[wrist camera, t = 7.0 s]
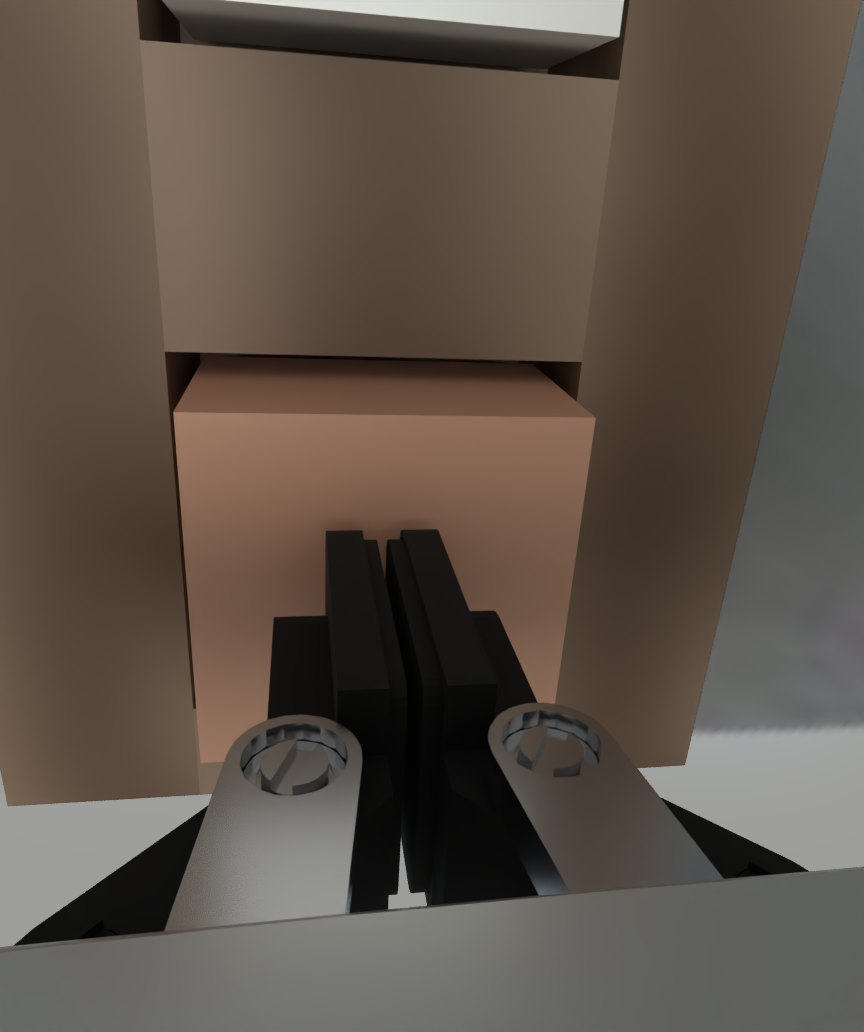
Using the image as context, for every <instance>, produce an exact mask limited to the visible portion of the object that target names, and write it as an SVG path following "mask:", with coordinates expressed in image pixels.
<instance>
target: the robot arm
mask: <svg viewBox="0 0 864 1032" xmlns="http://www.w3.org/2000/svg"><path fill="white" fill-rule="evenodd" d="M401 839H402V846H403V853H404V858H405V865H406V872H407V879H408V885H409V890H410V892H411V893H418V892H425V895H426V901H427V906H420V907H409V908H400V909H388V895H396V894H397V893H398V881H399V862H400V842H401ZM0 1032H864V867H856V868H844V869H833V870H821V871H808V870H806V869H804V868H803V867H801V866H800V865H798V864H796V863H795V862H793V861H791V860H789V859H787V858H785V857H783V856H781V855H779V854H777V853H775V852H773V851H770V850H768V849H766V848H764V847H762V846H760V845H758V844H756V843H754V842H752V841H750V840H748V839H746V838H743V837H741V836H739V835H737V834H735V833H733V832H731V831H729V830H727V829H725V828H723V827H721V826H719V825H717V824H714V823H712V822H710V821H708V820H706V819H704V818H702V817H700V816H697V815H696V814H694V813H691V812H690V811H687V810H685V809H683V808H681V807H679V806H677V805H675V804H673V803H671V802H669V801H667V800H664V799H663V798H660V797H659V796H658V794H657V793H656V792H655V791H654V789H653V788H652V787H651V785H649V783H648V782H647V780H646V779H645V778H644V777H643V775H642V774H641V773H640V771H639V770H638V769H637V767H636V766H635V765H634V764H633V762H632V761H631V760H630V759H629V757H628V756H627V755H626V753H625V752H624V751H623V750H622V748H621V747H620V746H619V745H618V743H617V742H616V741H615V739H614V738H613V737H612V736H611V734H610V733H609V732H608V731H607V730H606V729H605V728H604V727H603V726H602V725H601V724H600V723H599V722H598V721H596V720H595V719H593V718H591V717H590V716H588V715H586V714H584V713H583V712H581V711H578V710H575V709H572V708H569V707H566V706H564V705H557V704H551V703H538V702H537V700H536V698H535V695H534V693H533V691H532V689H531V687H530V684H529V682H528V680H527V678H526V675H525V673H524V671H523V669H522V667H521V664H520V662H519V660H518V658H517V655H516V653H515V651H514V649H513V646H512V644H511V642H510V640H509V638H508V635H507V633H506V631H505V629H504V626H503V624H502V622H501V620H500V618H499V616H498V614H497V613H496V611H493V610H488V611H469V608H468V605H467V603H466V600H465V598H464V595H463V592H462V590H461V587H460V585H459V582H458V580H457V577H456V574H455V572H454V569H453V567H452V564H451V562H450V559H449V556H448V554H447V551H446V549H445V546H444V543H443V541H442V538H441V536H440V533H439V531H438V529H417V530H401V533H400V539H388V540H387V546H386V570H385V576H384V571H383V567H382V562H381V557H380V552H379V547H378V543H377V540H364V536H363V531H362V530H340V531H326V535H325V615H323V616H290V617H274V620H273V635H272V651H271V667H270V684H269V700H268V717H267V720H266V721H263V722H261V723H259V724H257V725H255V726H253V727H251V728H249V729H248V730H246V731H245V732H244V733H243V734H242V735H241V736H239V737H238V738H237V739H236V740H235V741H234V743H233V744H232V746H231V748H230V749H229V751H228V753H227V754H226V757H225V760H224V763H223V766H222V768H221V771H220V774H219V777H218V780H217V783H216V785H215V788H214V791H213V794H212V797H211V800H210V803H209V805H208V806H207V807H205V808H204V809H203V810H201V811H200V812H198V813H197V814H195V815H194V816H193V817H191V818H190V819H188V820H187V821H186V822H184V823H183V824H181V825H180V826H178V827H177V828H176V829H174V830H173V831H171V832H170V833H169V834H167V835H166V836H164V837H163V838H161V839H160V840H159V841H157V842H156V843H154V844H153V845H151V846H150V847H149V848H147V849H146V850H144V851H143V852H141V853H140V854H139V855H137V856H136V857H134V858H133V859H132V860H130V861H129V862H127V863H126V864H125V865H123V866H122V867H120V868H119V869H117V870H116V871H115V872H113V873H112V874H110V875H109V876H107V877H106V878H105V879H103V880H102V881H100V882H99V883H97V884H96V885H95V886H93V887H92V888H90V889H89V890H88V891H86V892H85V893H84V894H82V895H80V896H79V897H78V898H76V899H75V900H73V901H72V902H70V903H69V904H68V905H66V906H65V907H63V908H62V909H61V910H60V911H58V912H56V913H55V914H53V915H52V916H51V917H49V918H48V919H46V920H45V921H43V922H42V923H41V924H39V925H38V926H36V927H35V928H34V929H33V930H31V931H30V932H29V933H28V934H27V935H25V936H24V937H23V938H22V939H21V940H20V941H19V942H17V943H16V944H15V945H14V946H8V947H0Z"/></svg>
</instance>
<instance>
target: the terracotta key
mask: <svg viewBox="0 0 864 1032" xmlns="http://www.w3.org/2000/svg"><path fill="white" fill-rule="evenodd" d="M173 414H174V427H175V440H176V453H177V466H178V479H179V492H180V505H181V517H182V530H183V543H184V556H185V569H186V582H187V595H188V608H189V621H190V633H191V646H192V659H193V672H194V685H195V698H196V711H197V724H198V737H199V749H200V762H201V763H209V762H224V760H225V757H226V754H227V753H228V751H229V749H230V748H231V746H232V744H233V743H234V741H235V740H236V739H237V738H238V737H239V736H241V735H242V734H243V733H244V732H245V731H246V730H248V729H249V728H251V727H253V726H255V725H257V724H259V723H261V722H263V721H266V720H267V717H268V700H269V684H270V667H271V651H272V635H273V620H274V617H290V616H323V615H325V535H326V531H340V530H362V531H363V536H364V540H377V543H378V547H379V552H380V557H381V562H382V567H383V571H384V576H385V570H386V546H387V540H388V539H400V533H401V530H417V529H438V531H439V533H440V536H441V538H442V541H443V543H444V546H445V549H446V551H447V554H448V556H449V559H450V562H451V564H452V567H453V569H454V572H455V574H456V577H457V580H458V582H459V585H460V587H461V590H462V592H463V595H464V598H465V600H466V603H467V605H468V608H469V611H488V610H493V611H496V613H497V614H498V616H499V618H500V620H501V622H502V624H503V626H504V629H505V631H506V633H507V635H508V638H509V640H510V642H511V644H512V646H513V649H514V651H515V653H516V655H517V658H518V660H519V662H520V664H521V667H522V669H523V671H524V673H525V675H526V678H527V680H528V682H529V684H530V687H531V689H532V691H533V693H534V695H535V698H536V700H537V702H538V703H551V704H555V700H556V693H557V686H558V679H559V672H560V665H561V658H562V651H563V644H564V637H565V630H566V623H567V616H568V609H569V602H570V595H571V588H572V581H573V574H574V567H575V560H576V553H577V546H578V539H579V532H580V525H581V518H582V511H583V504H584V497H585V490H586V483H587V476H588V469H589V462H590V455H591V448H592V441H593V434H594V427H595V420H596V418H595V417H594V416H593V415H592V414H591V413H590V412H588V411H587V410H586V409H585V408H584V407H582V406H581V405H580V404H579V403H578V402H576V401H575V400H574V399H573V398H572V397H571V396H569V395H568V394H567V393H566V392H565V391H563V390H562V389H561V388H560V387H559V386H557V385H556V384H555V383H554V382H553V381H552V380H550V379H549V378H548V377H547V376H546V375H544V374H543V373H542V372H541V371H540V370H538V369H537V368H536V367H535V366H534V365H533V364H512V363H470V362H428V361H387V360H345V359H303V358H261V357H220V356H205V357H204V358H203V360H202V362H201V364H200V366H199V367H198V369H197V371H196V373H195V375H194V376H193V378H192V380H191V382H190V383H189V385H188V387H187V389H186V391H185V392H184V394H183V396H182V398H181V400H180V401H179V403H178V405H177V407H176V408H175V410H174V412H173Z"/></svg>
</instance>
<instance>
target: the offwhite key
mask: <svg viewBox="0 0 864 1032" xmlns="http://www.w3.org/2000/svg"><path fill="white" fill-rule="evenodd" d="M162 1H163V2H164V3H165V5H166V6H167V7H168V8H169V9H170V11H171V12H172V13H173V14H174V15H175V17H176V18H177V19H178V20H179V21H180V23H181V24H182V25H183V26H184V27H185V29H186V30H187V31H188V32H189V33H190V35H191V36H192V37H193V38H194V39H195V40H204V41H216V42H228V43H240V44H252V45H263V46H275V47H287V48H299V49H310V50H322V51H334V52H346V53H358V54H369V55H381V56H393V57H405V58H416V59H428V60H440V61H452V62H463V63H475V64H487V65H499V66H511V67H522V68H534V69H548V68H550V67H552V66H554V65H557V64H559V63H561V62H564V61H566V60H568V59H570V58H573V57H575V56H577V55H580V54H582V53H584V52H586V51H589V50H591V49H593V48H595V47H598V46H600V45H602V44H605V43H607V42H609V41H611V40H614V39H616V38H618V37H619V35H620V28H621V20H622V12H623V4H624V0H162Z"/></svg>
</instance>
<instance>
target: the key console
mask: <svg viewBox="0 0 864 1032" xmlns="http://www.w3.org/2000/svg"><path fill="white" fill-rule="evenodd" d="M861 1H862V0H624V4H623V12H622V20H621V28H620V35H619V37H618V38H616V39H614V40H611V41H609V42H607V43H605V44H602V45H600V46H598V47H595V48H593V49H591V50H589V51H586V52H584V53H582V54H580V55H577V56H575V57H573V58H570V59H568V60H566V61H564V62H561V63H559V64H557V65H554V66H552V67H550V68H548V69H534V68H522V67H511V66H499V65H487V64H475V63H463V62H452V61H440V60H428V59H416V58H405V57H393V56H381V55H369V54H358V53H346V52H334V51H322V50H310V49H299V48H287V47H275V46H263V45H252V44H240V43H228V42H216V41H204V40H195V39H194V38H193V37H192V36H191V35H190V33H189V32H188V31H187V30H186V29H185V27H184V26H183V25H182V24H181V23H180V21H179V20H178V19H177V18H176V17H175V15H174V14H173V13H172V12H171V11H170V9H169V8H168V7H167V6H166V5H165V3H164V2H163V1H162V0H0V770H1V775H2V780H3V785H4V790H5V794H6V800H7V804H8V806H18V805H36V804H53V803H70V802H86V801H102V800H119V799H136V798H151V797H169V796H185V795H202V794H213V791H214V788H215V785H216V783H217V780H218V777H219V774H220V771H221V768H222V766H223V763H224V762H209V763H201V762H200V749H199V737H198V724H197V711H196V698H195V685H194V672H193V659H192V646H191V633H190V621H189V608H188V595H187V582H186V569H185V556H184V543H183V530H182V517H181V505H180V492H179V479H178V466H177V453H176V440H175V427H174V414H173V412H174V410H175V408H176V407H177V405H178V403H179V401H180V400H181V398H182V396H183V394H184V392H185V391H186V389H187V387H188V385H189V383H190V382H191V380H192V378H193V376H194V375H195V373H196V371H197V369H198V367H199V366H200V364H201V362H202V360H203V358H204V357H205V356H220V357H261V358H303V359H345V360H387V361H428V362H470V363H512V364H533V365H534V366H535V367H536V368H537V369H538V370H540V371H541V372H542V373H543V374H544V375H546V376H547V377H548V378H549V379H550V380H552V381H553V382H554V383H555V384H556V385H557V386H559V387H560V388H561V389H562V390H563V391H565V392H566V393H567V394H568V395H569V396H571V397H572V398H573V399H574V400H575V401H576V402H578V403H579V404H580V405H581V406H582V407H584V408H585V409H586V410H587V411H588V412H590V413H591V414H592V415H593V416H594V417H595V418H596V420H595V427H594V434H593V441H592V448H591V455H590V462H589V469H588V476H587V483H586V490H585V497H584V504H583V511H582V518H581V525H580V532H579V539H578V546H577V553H576V560H575V567H574V574H573V581H572V588H571V595H570V602H569V609H568V616H567V623H566V630H565V637H564V644H563V651H562V658H561V665H560V672H559V679H558V686H557V693H556V700H555V704H557V705H564V706H566V707H569V708H572V709H575V710H578V711H581V712H583V713H584V714H586V715H588V716H590V717H591V718H593V719H595V720H596V721H598V722H599V723H600V724H601V725H602V726H603V727H604V728H605V729H606V730H607V731H608V732H609V733H610V734H611V736H612V737H613V738H614V739H615V741H616V742H617V743H618V745H619V746H620V747H621V748H622V750H623V751H624V752H625V753H626V755H627V756H628V757H629V759H630V760H631V761H632V762H633V764H634V765H635V766H636V767H637V768H646V767H663V766H680V765H685V762H686V758H687V753H688V749H689V745H690V741H691V736H692V732H693V728H694V723H695V719H696V715H697V710H698V706H699V702H700V697H701V693H702V689H703V684H704V680H705V676H706V672H707V667H708V663H709V659H710V654H711V650H712V646H713V641H714V637H715V633H716V628H717V624H718V620H719V615H720V611H721V607H722V602H723V598H724V594H725V589H726V585H727V581H728V576H729V572H730V568H731V563H732V559H733V555H734V550H735V546H736V542H737V537H738V533H739V529H740V524H741V520H742V516H743V511H744V507H745V503H746V498H747V494H748V490H749V485H750V481H751V477H752V473H753V468H754V464H755V460H756V455H757V451H758V447H759V442H760V438H761V434H762V429H763V425H764V421H765V416H766V412H767V408H768V403H769V399H770V395H771V390H772V386H773V382H774V377H775V373H776V369H777V364H778V360H779V356H780V351H781V347H782V343H783V338H784V334H785V330H786V325H787V321H788V317H789V312H790V308H791V304H792V299H793V295H794V291H795V286H796V282H797V278H798V274H799V269H800V265H801V261H802V256H803V252H804V248H805V243H806V239H807V235H808V230H809V226H810V222H811V217H812V213H813V209H814V204H815V200H816V196H817V191H818V187H819V183H820V178H821V174H822V170H823V165H824V161H825V157H826V152H827V148H828V144H829V139H830V135H831V131H832V126H833V122H834V118H835V113H836V109H837V105H838V100H839V96H840V92H841V87H842V83H843V79H844V75H845V70H846V66H847V62H848V57H849V53H850V49H851V44H852V40H853V36H854V31H855V27H856V23H857V18H858V14H859V10H860V5H861Z"/></svg>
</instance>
